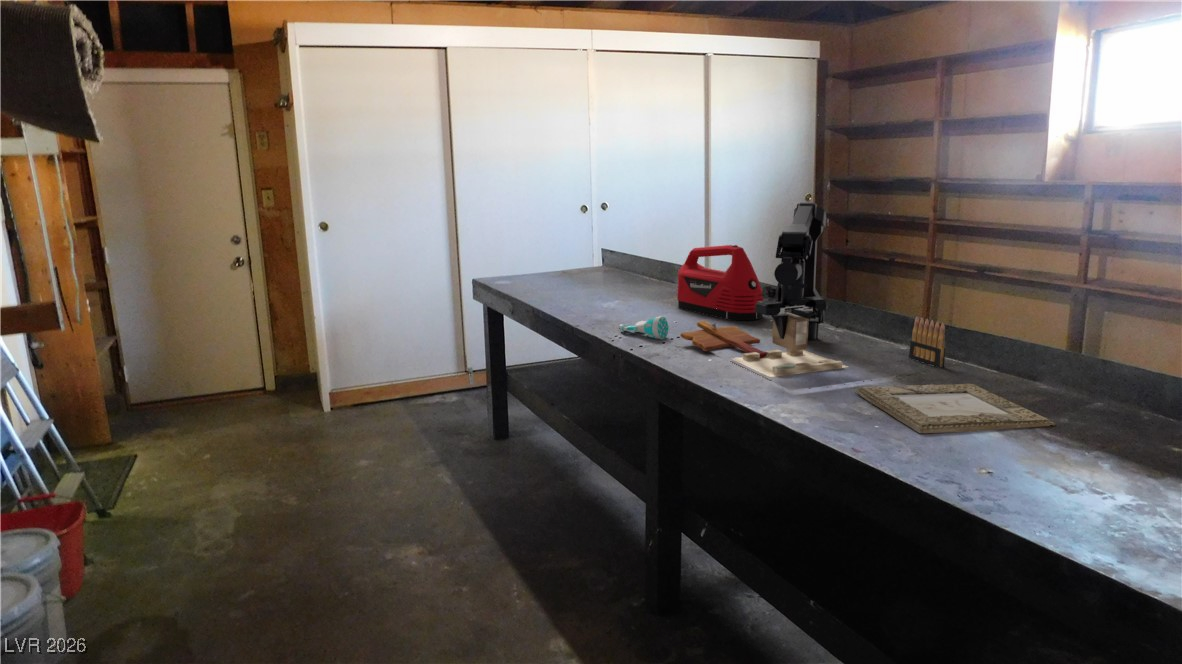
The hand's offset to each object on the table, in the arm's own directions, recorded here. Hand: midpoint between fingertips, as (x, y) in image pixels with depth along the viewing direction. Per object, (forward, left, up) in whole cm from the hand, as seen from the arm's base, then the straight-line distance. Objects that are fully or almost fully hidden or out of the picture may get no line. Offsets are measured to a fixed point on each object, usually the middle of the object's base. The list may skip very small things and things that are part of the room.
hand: (789, 337), depth 193 cm
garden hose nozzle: (+20, -51, -8) cm, 55 cm away
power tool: (-20, -72, -8) cm, 75 cm away
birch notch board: (0, 0, -8) cm, 8 cm away
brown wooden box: (0, 0, -2) cm, 2 cm away
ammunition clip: (-36, +11, -8) cm, 38 cm away
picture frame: (-12, +42, -9) cm, 45 cm away
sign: (+5, -22, -7) cm, 23 cm away
